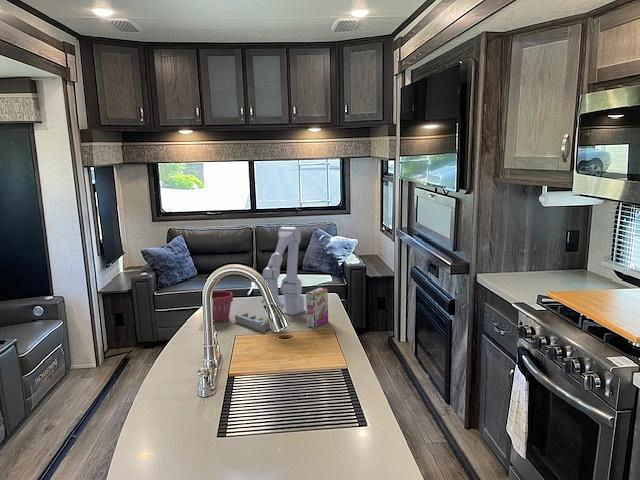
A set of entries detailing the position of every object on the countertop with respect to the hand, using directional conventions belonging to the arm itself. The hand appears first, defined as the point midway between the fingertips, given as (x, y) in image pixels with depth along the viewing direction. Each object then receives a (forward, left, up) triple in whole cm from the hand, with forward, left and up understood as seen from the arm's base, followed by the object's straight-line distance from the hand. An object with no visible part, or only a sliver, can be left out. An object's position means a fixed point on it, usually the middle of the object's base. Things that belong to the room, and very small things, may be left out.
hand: (273, 319), depth 227 cm
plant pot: (+13, -27, -2) cm, 30 cm away
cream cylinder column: (+2, 0, -2) cm, 3 cm away
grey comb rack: (+7, -6, -2) cm, 10 cm away
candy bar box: (-13, +17, -2) cm, 22 cm away
